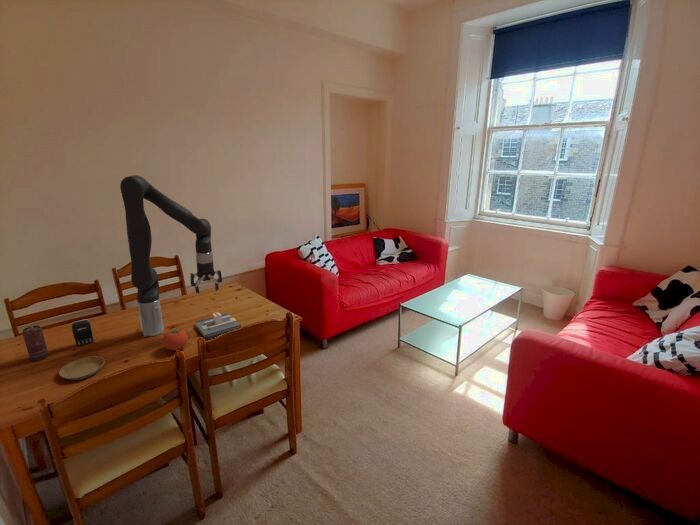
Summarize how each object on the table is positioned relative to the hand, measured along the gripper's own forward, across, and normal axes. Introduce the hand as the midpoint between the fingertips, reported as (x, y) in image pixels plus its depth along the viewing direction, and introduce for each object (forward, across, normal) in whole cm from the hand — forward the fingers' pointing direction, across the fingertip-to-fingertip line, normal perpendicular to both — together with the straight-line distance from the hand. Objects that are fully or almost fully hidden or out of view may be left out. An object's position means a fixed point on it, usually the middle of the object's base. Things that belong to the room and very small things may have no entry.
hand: (207, 291), depth 173 cm
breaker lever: (+17, +3, -2) cm, 18 cm away
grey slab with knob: (+19, +3, -2) cm, 20 cm away
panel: (+19, +3, -2) cm, 20 cm away
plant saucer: (+21, -51, -16) cm, 57 cm away
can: (+21, -68, +5) cm, 72 cm away
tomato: (+20, -17, -14) cm, 30 cm away
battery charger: (+20, -53, +10) cm, 58 cm away
